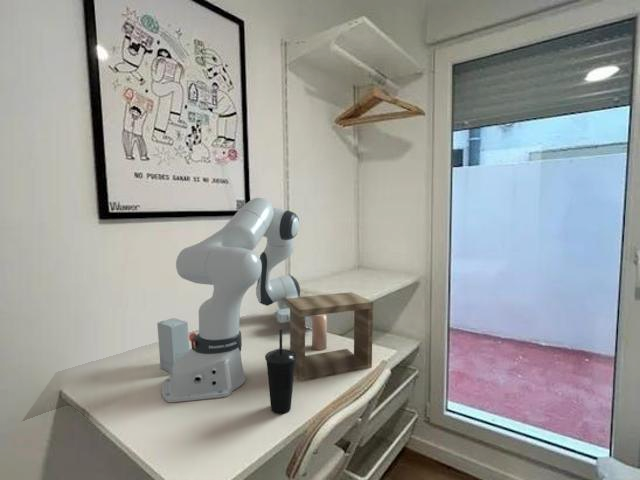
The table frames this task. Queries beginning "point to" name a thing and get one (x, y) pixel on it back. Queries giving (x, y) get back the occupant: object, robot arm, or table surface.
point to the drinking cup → (280, 377)
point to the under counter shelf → (332, 360)
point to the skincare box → (172, 341)
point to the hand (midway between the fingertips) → (307, 319)
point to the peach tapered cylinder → (319, 332)
